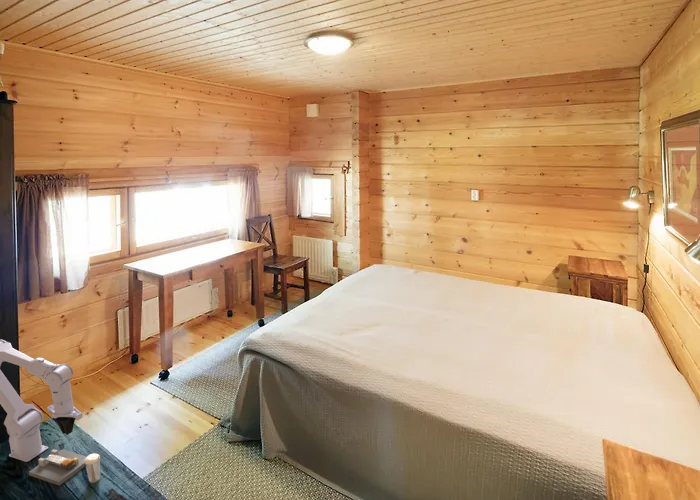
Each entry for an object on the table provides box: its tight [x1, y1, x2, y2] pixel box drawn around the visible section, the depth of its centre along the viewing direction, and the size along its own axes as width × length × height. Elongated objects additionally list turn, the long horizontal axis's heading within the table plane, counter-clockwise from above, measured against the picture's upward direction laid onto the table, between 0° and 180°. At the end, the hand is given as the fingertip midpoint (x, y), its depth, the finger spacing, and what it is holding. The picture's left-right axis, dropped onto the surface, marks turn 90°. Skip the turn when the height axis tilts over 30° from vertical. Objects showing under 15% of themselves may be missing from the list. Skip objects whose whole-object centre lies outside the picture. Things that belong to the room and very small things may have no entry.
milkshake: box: [84, 453, 101, 484], centre depth 139 cm, size 4×5×10 cm
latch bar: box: [43, 453, 74, 468], centre depth 145 cm, size 10×3×1 cm, turn 72°
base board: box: [28, 448, 87, 487], centre depth 145 cm, size 14×12×4 cm
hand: (67, 432), depth 150 cm, fingers closed
